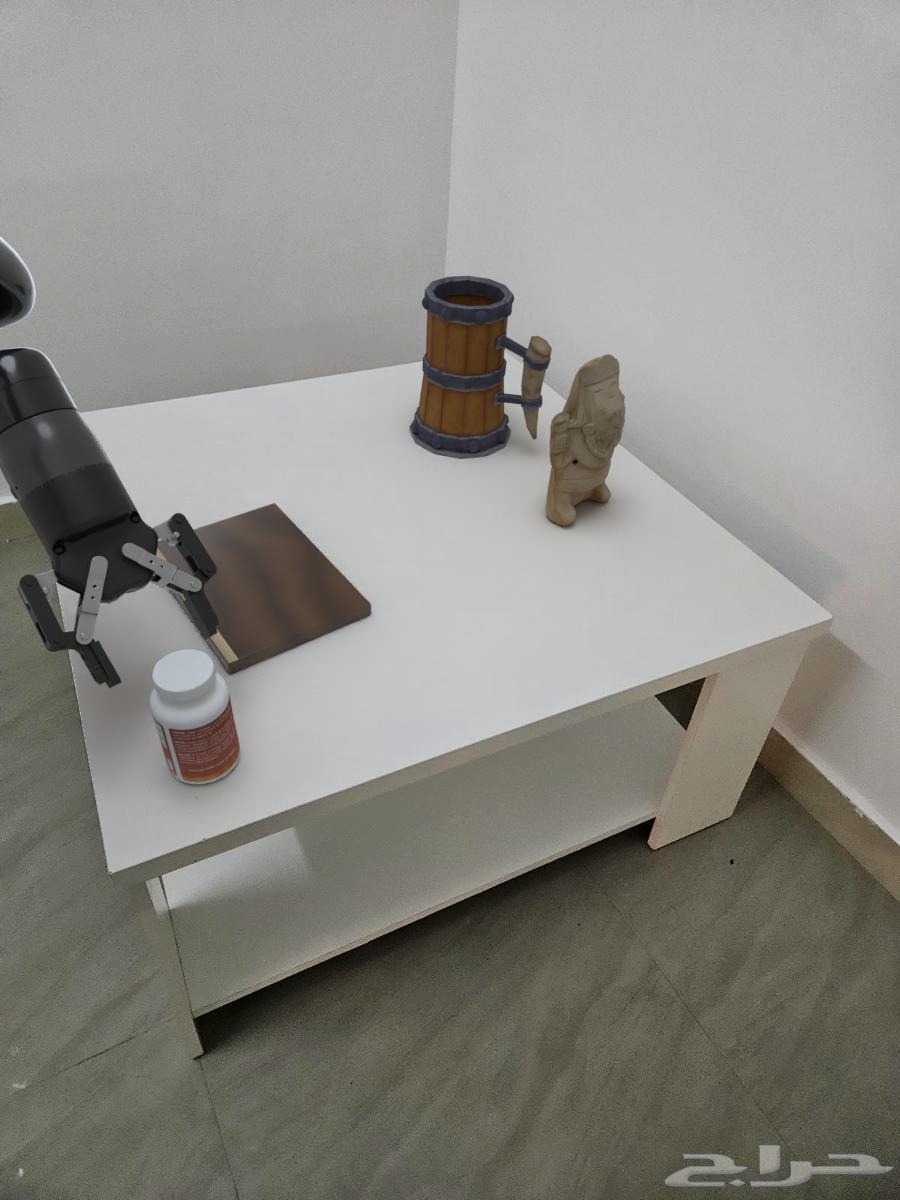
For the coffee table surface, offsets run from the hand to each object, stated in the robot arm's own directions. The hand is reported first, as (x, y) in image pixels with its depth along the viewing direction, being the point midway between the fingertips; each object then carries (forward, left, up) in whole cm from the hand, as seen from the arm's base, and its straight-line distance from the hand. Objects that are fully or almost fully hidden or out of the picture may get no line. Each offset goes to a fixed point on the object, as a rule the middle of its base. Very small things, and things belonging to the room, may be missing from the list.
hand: (165, 660), depth 66 cm
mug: (+54, +29, -10) cm, 62 cm away
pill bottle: (0, -3, -10) cm, 10 cm away
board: (+14, +16, -10) cm, 24 cm away
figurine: (+55, +8, -10) cm, 56 cm away
